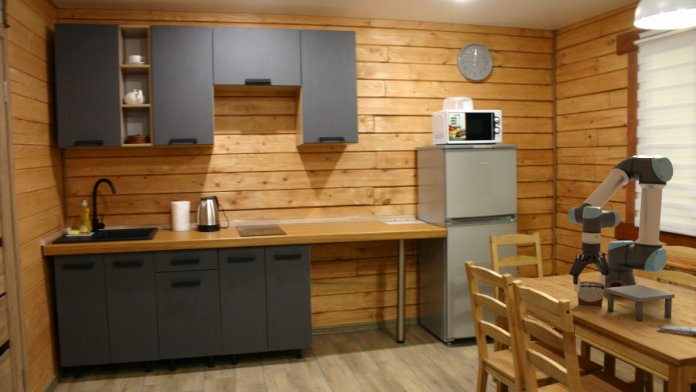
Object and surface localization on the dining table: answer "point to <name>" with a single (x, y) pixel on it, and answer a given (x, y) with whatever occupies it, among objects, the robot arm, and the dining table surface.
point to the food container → (591, 294)
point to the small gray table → (640, 298)
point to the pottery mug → (615, 284)
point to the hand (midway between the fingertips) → (589, 290)
